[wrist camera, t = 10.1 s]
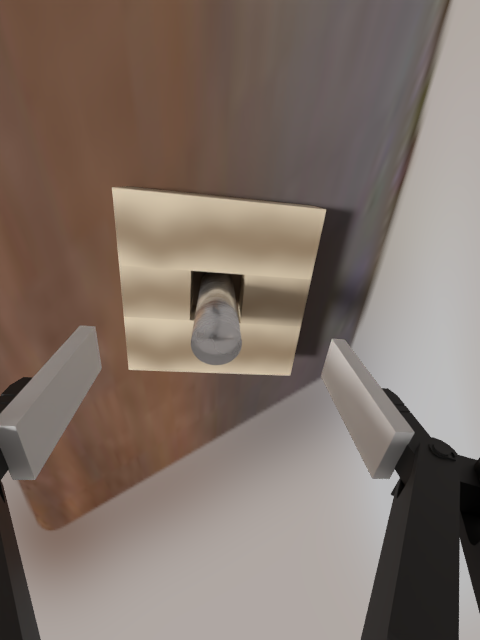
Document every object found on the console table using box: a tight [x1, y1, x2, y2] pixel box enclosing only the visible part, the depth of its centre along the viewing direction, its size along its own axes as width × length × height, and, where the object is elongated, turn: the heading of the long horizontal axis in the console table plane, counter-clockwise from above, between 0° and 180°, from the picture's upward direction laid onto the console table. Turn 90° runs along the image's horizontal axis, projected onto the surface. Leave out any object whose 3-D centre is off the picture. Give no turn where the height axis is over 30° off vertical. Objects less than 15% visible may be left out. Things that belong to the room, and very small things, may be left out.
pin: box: [191, 272, 242, 365], centre depth 22 cm, size 3×3×11 cm
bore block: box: [112, 186, 326, 376], centre depth 26 cm, size 16×16×4 cm
